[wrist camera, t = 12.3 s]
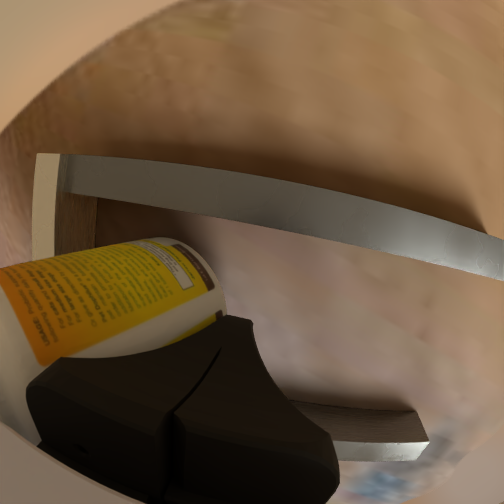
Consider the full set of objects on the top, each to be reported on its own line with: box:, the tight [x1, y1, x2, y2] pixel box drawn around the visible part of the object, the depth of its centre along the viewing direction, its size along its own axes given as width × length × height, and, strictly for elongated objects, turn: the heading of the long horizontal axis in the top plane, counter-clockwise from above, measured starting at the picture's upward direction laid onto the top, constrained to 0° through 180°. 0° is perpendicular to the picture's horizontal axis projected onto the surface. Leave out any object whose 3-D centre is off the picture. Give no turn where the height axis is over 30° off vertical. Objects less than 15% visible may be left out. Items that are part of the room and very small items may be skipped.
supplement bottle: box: [0, 237, 227, 446], centre depth 8 cm, size 6×6×10 cm
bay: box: [32, 153, 504, 461], centre depth 11 cm, size 12×20×3 cm, turn 80°
